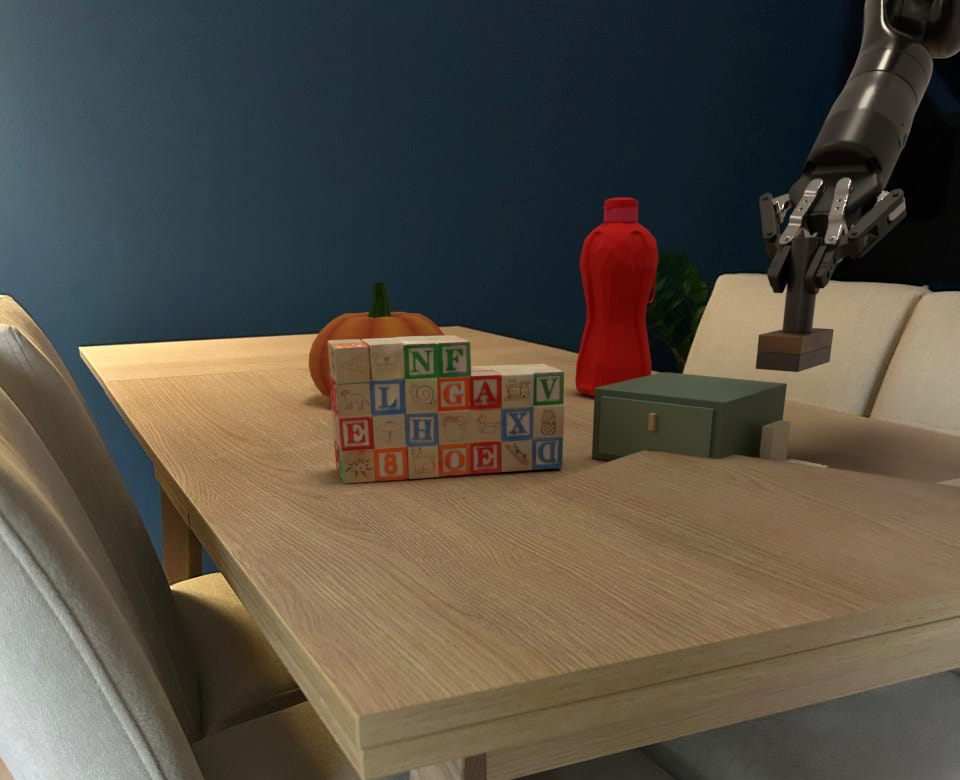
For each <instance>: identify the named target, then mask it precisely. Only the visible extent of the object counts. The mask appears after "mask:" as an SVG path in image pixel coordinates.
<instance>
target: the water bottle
mask: <svg viewBox="0 0 960 780" xmlns="http://www.w3.org/2000/svg"><path fill="white" fill-rule="evenodd" d="M639 204H640V203H639V201H638V200H637V199H635V198H633V197H612V198H611V197H610V198H608V199H605V200H604V206H602V207H601V209H604V211H603V222H602V223H601V224H600V225H598V226H597V227H596V228H594V229H593V230H592V231H591V232H590V233H589V234H588V235H587V236H586V237H585V239H584V241H583V245H582V250H581V254H580V258H579V270H580V274H581V276H580V277H581V280H582V287H583V292H584V298H585V305H586V321H585V324H584V329H583V333H582V338H581V341H580V347H579V351H578V356H577V359H576V365H575V379H574V382H575V389H576V391H577V392H578V393H579V394H580V395H584V396H588V397H593V398H594V394H595V388H597V387H601V386H605V385H610V384H614V383H619V382H623V381H627V380H632V379H636V378H641V377H645V376H649V375H652V359H651V353H650V351H651V350H650V344H649V337H648V329H647V321H646V317H647V307H648V304H651V303H653V302H654V299H655V297H656V291H657V278H656V275H657V270H658V263H659V252H658V246H657V240H656V238H655V237H654V235H652V233H651V232H650V231H649V229H647V228H645V227H644V226H643V225H642V224H641V223H639ZM652 288H653V289H652ZM652 290H653V292H652ZM651 292H652V297H651V299H650V295H651ZM649 299H650V301H649Z"/></svg>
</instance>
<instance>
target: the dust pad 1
mask: <svg viewBox="0 0 960 780" xmlns="http://www.w3.org/2000/svg"><path fill="white" fill-rule="evenodd" d="M790 430H791V421H790V420H783V421H781V420H779V421H776V422H774V423H771V424H768V425H765V426H763V428H762V437H761V446H760V455H759V458H758V459H761V460H764V459H765V460H769V461H777V462H783V461H785V460H787V457H788V446H789V439H790Z"/></svg>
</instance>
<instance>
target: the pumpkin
mask: <svg viewBox="0 0 960 780" xmlns="http://www.w3.org/2000/svg"><path fill="white" fill-rule="evenodd" d="M442 335H445V333H444V332H443V331H442V330H441V328H440V327H439V326H438V325H437V324H435V323H434V322H433V320H431V319H430V318H428V317H426V316H424V315H423V314H421V313H414V312H413V313H410V312H405V311H391V307H390V302H389V297H388V292H387V288H386V283H384V282H380V283H379V282H376V283H375V282H373V283H372V299H371V302H370V305H369V309H368V311H366V312H355V313H354V312H353V313H352V312H351V313H349V312H347V313H344V314H341V315H338V316H337V317H335V318H334V319H332V320H331V321H330V322H328V323H327V324H326V325H325V326H324V327H323V328H322V329H321V330H320V331H319V332H318V333H317V335H316V337H315V339H314V340H313V341H312V344H311V347H310V350H309V354H308V369H309V374H310V377H311V379H312V381H313V383H314V385H315V387H316V389H317V390H318V391H320V393H321V394H322V396H324V397H328V398H330V389H329V374H330V367H329V355H328V343H327V341H329V340H352V339H359V340H361V339H375V338H394V337H408V336H442Z"/></svg>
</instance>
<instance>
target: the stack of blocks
mask: <svg viewBox="0 0 960 780" xmlns="http://www.w3.org/2000/svg"><path fill="white" fill-rule="evenodd" d="M327 343H328V355H329V367H330V374H329V389H330V397H329V400H330V407H331V416H332V418H331V419H332V428H333V430H332V431H333V440H334V441H333V443H334V456H335V468H336V471H337V474H338V476H340V479H341V481H342V483H343V484H356V483H372V482H388V481H390V482H391V481H403V480H404V481H405V480H415V479H431V478H439V477H450V476H464V475H465V476H466V475H467V476H468V475H478V474H479V475H481V474H482V475H483V474H494V473H508V472H509V473H510V472H523V471H539V470H552V469H554V470H555V469H562V468H563V454H564V430H565V429H564V427H565V405H564V403H565V372H564V371H563V370H561V369H559V368H556V367H553V366H550V365H548V364H546V363H530V364H500V365H496V364H495V365H476V366H472V357H471V356H472V355H471V354H472V353H471V351H472V350H471V341H470V340H467V339H465V338H461V337H459V336H457V335H455V334H447V335H446V334H444V335H442V336H408V337H394V338H375V339H361V340H359V339H352V340H329V341H327Z"/></svg>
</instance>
